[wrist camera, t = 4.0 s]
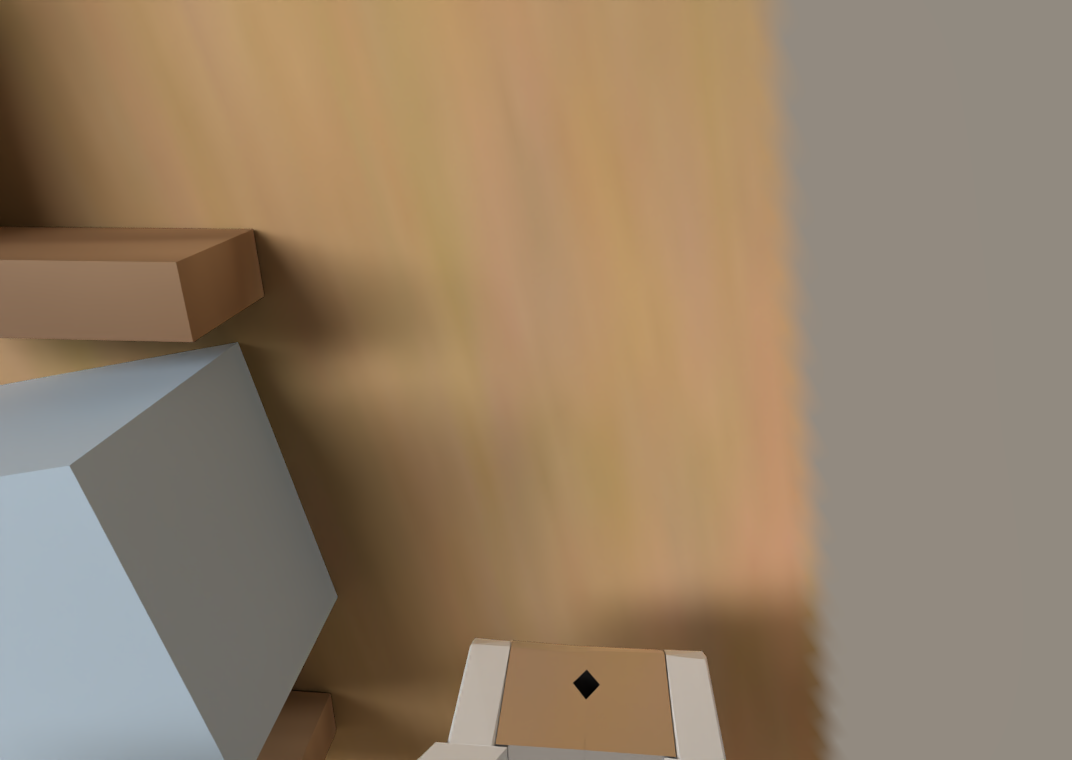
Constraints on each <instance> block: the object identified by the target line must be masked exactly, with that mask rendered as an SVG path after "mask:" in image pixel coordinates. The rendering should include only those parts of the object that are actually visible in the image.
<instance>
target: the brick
mask: <svg viewBox="0 0 1072 760" xmlns="http://www.w3.org/2000/svg"><path fill="white" fill-rule="evenodd" d="M337 598H338V596H337V594H336V591H335V589H334V586H333V584H332V581H331V579H330V576H329V573H328V571H327V568H326V566H325V563H324V561H323V558H322V556H321V553H320V550H319V548H318V545H317V543H316V540H315V538H314V535H313V533H312V530H311V527H310V525H309V522H308V520H307V517H306V515H305V512H304V510H303V507H302V504H301V502H300V499H299V497H298V494H297V492H296V489H295V487H294V484H293V481H292V479H291V476H290V474H289V471H288V469H287V466H286V464H285V461H284V459H283V456H282V453H281V451H280V448H279V446H278V443H277V441H276V438H275V436H274V433H273V430H272V428H271V425H270V423H269V420H268V418H267V415H266V413H265V410H264V407H263V405H262V402H261V400H260V397H259V395H258V392H257V390H256V387H255V384H254V382H253V379H252V377H251V374H250V372H249V369H248V367H247V364H246V361H245V359H244V356H243V354H242V351H241V349H240V346H239V344H238V342H236V343H230V344H225V345H219V346H213V347H208V348H202V349H197V350H191V351H186V352H180V353H175V354H169V355H164V356H158V357H153V358H147V359H142V360H136V361H131V362H125V363H120V364H114V365H109V366H103V367H98V368H92V369H87V370H81V371H76V372H70V373H65V374H59V375H54V376H48V377H43V378H37V379H32V380H26V381H21V382H15V383H10V384H4V385H0V760H257V758H258V756H259V754H260V752H261V750H262V748H263V746H264V744H265V742H266V740H267V738H268V736H269V734H270V732H271V730H272V728H273V726H274V724H275V722H276V720H277V718H278V716H279V714H280V712H281V710H282V708H283V706H284V704H285V702H286V700H287V698H288V696H289V694H290V692H291V690H292V688H293V686H294V684H295V682H296V680H297V678H298V676H299V674H300V672H301V670H302V668H303V666H304V664H305V662H306V660H307V658H308V656H309V654H310V652H311V650H312V648H313V646H314V644H315V642H316V640H317V638H318V636H319V634H320V632H321V630H322V628H323V626H324V624H325V622H326V620H327V618H328V616H329V614H330V612H331V610H332V608H333V606H334V604H335V602H336V600H337Z"/></svg>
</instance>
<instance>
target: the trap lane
mask: <svg viewBox="0 0 1072 760" xmlns="http://www.w3.org/2000/svg"><path fill="white" fill-rule="evenodd" d="M262 297H264V292H263V286H262V280H261V274H260V268H259V262H258V256H257V250H256V243H255V237H254V231H253V229H192V228H83V227H0V338H30V339H74V340H118V341H163V342H194V341H196V340H197V339H199V338H200V337H202V336H203V335H205V334H206V333H208V332H210V331H211V330H213V329H214V328H216V327H217V326H219V325H220V324H222V323H224V322H225V321H227V320H228V319H230V318H231V317H233V316H234V315H236V314H237V313H239V312H241V311H242V310H244V309H245V308H247V307H248V306H250V305H251V304H253V303H255V302H256V301H258V300H259V299H261V298H262ZM335 733H336V725H335V719H334V713H333V707H332V701H331V695H330V693H316V692H300V691H291V692H290V694H289V696H288V698H287V700H286V702H285V704H284V706H283V708H282V710H281V712H280V714H279V716H278V718H277V720H276V722H275V724H274V726H273V728H272V730H271V732H270V734H269V736H268V738H267V740H266V742H265V744H264V746H263V748H262V750H261V752H260V754H259V756H258V758H257V760H325V758H326V755H327V753H328V750H329V748H330V745H331V743H332V740H333V738H334V735H335Z"/></svg>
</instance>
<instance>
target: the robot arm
mask: <svg viewBox="0 0 1072 760" xmlns="http://www.w3.org/2000/svg"><path fill="white" fill-rule="evenodd" d="M417 760H726V756H725V751H724V746H723V741H722V735H721V730H720V725H719V720H718V714H717V709H716V704H715V699H714V694H713V688H712V683H711V678H710V673H709V668H708V662H707V657H706V656H705V654H704V653H703V651H686V650H664V651H662V650H656V649H636V648H616V647H596V646H576V645H564V644H552V643H540V642H528V641H516V640H513V641H504V640H493V639H483V638H475V639H474V640H473V642H472V644H471V646H470V649H469V653H468V657H467V661H466V666H465V670H464V674H463V678H462V683H461V687H460V691H459V695H458V700H457V704H456V708H455V712H454V717H453V721H452V725H451V729H450V734H449V738H448V742H447V743H443V742H435V743H434V744H433V745H432V746H431V747H430V748H429V749H428V750H427V751H426V752H425V753H424V754H423V755H422V756H421V757H420V758H418V759H417Z"/></svg>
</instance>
